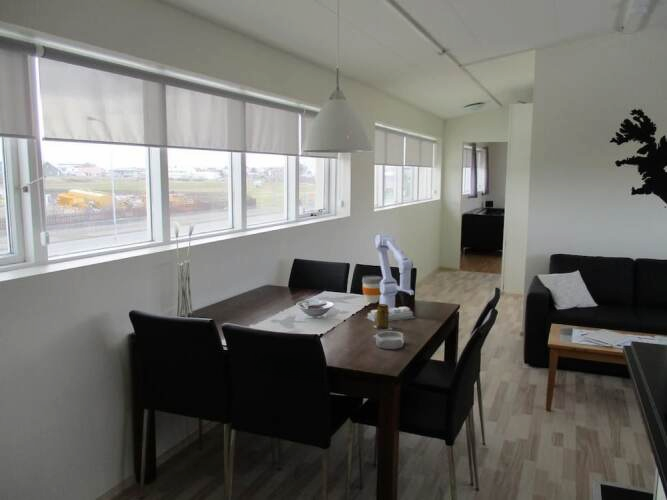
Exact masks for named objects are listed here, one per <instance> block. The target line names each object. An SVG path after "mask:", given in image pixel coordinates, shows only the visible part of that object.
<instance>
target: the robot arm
mask: <svg viewBox="0 0 667 500" xmlns="http://www.w3.org/2000/svg"><path fill="white" fill-rule="evenodd" d="M374 243H375V248H376V249H375V250H377V254H378V259H379V265H380V270H381V275H382V280H381V282H380V292H381V294H380V298H379V302H378V305H379V304H387V305H388V311H390V308H396V295H397V294H398V296H399V297H400V301H401V305H402V306H407V304H408V301H409V299H410V297H411V296H414V294H415V291H414V290H413V289H412V288H411V273H412V269H413V268H414V263H413V260H412V259H411V258H408V257H407V255H405V253H404V251H403V250H400V249H399V247H398V246H397V244H396V243H395V237H394V235H393V234H392V233H390V234H377V235H376V236H375V238H374ZM388 250H390V251H391V252H392V253H393V258H394V259H395V261H396V262H397V264H398V265H397V267H398V269H399V271H398V272H399V274H400V275H399V285H398V283H397V282H398V281H397V280H396V279H395V278H394V277H393V275H392V271H391V266H390V260H389V257H388Z"/></svg>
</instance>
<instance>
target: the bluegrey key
mask: <svg viewBox="0 0 667 500" xmlns="http://www.w3.org/2000/svg"><path fill="white" fill-rule="evenodd" d="M390 312H391V313H393V314H394V313H400V312H401V309H399V307H395V308H390Z"/></svg>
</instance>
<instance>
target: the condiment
mask: <svg viewBox="0 0 667 500" xmlns="http://www.w3.org/2000/svg"><path fill="white" fill-rule="evenodd" d="M376 310H377V323H376V325H372V327H373V328H375V329H378V330H379V331H392V330H393V328H392V327H390V326H389V321H388V320H389V319H388V318H389V311H388V305H387V304H379V303H378V304H377V309H376Z"/></svg>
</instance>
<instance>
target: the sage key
mask: <svg viewBox="0 0 667 500" xmlns="http://www.w3.org/2000/svg"><path fill="white" fill-rule="evenodd" d="M377 310H378V309H371V310H370V313H371V314H372V315H374V316H377Z"/></svg>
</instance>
